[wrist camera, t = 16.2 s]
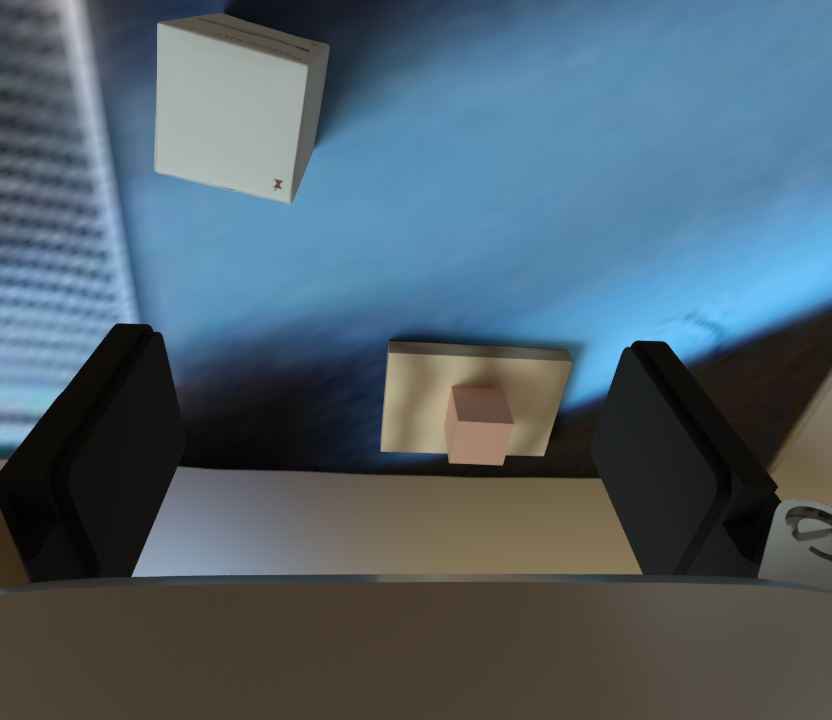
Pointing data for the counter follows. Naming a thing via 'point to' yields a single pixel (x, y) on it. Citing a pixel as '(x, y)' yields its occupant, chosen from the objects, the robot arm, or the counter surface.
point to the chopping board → (469, 367)
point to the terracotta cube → (477, 426)
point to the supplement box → (237, 104)
